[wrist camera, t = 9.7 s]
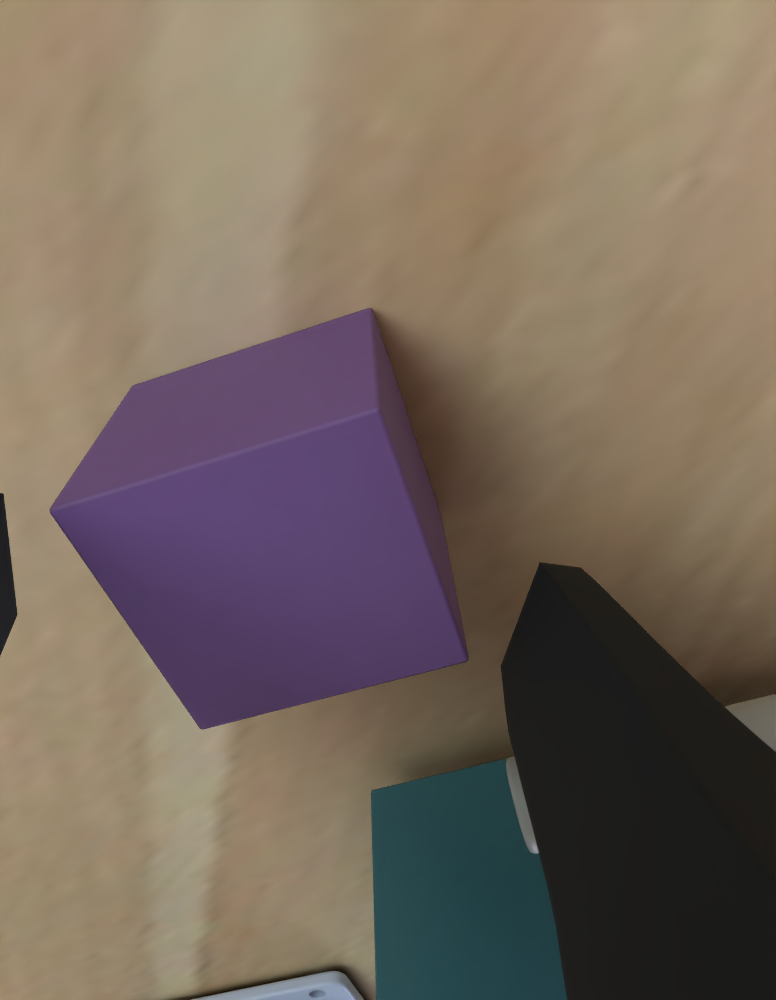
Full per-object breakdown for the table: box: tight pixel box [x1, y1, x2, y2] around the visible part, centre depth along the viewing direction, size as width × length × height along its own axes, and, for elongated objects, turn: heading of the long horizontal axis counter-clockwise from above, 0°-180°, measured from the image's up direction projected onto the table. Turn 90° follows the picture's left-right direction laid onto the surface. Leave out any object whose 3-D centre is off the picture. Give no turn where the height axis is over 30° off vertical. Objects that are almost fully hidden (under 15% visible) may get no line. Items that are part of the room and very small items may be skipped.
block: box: [50, 308, 469, 729], centre depth 11 cm, size 4×4×4 cm
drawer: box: [371, 694, 776, 1000], centre depth 16 cm, size 18×13×6 cm
